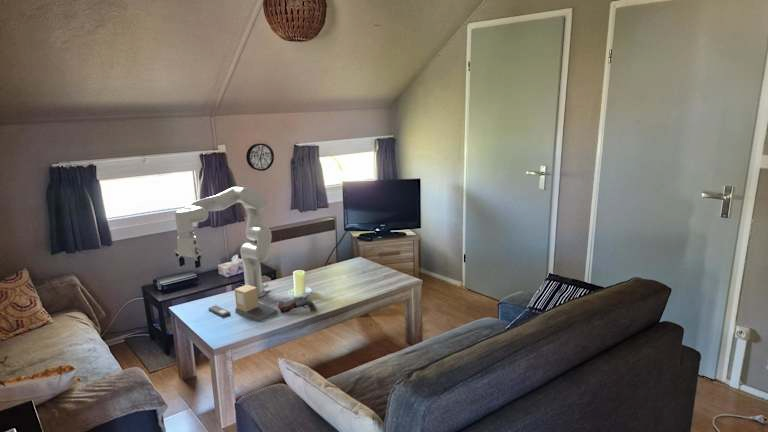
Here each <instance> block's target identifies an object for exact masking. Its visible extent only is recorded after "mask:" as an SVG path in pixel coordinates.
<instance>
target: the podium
mask: <svg viewBox="0 0 768 432" xmlns="http://www.w3.org/2000/svg"><path fill="white" fill-rule="evenodd" d="M235 314H238V315H240V316H244V317H246V318H249V319H252V320H254V321H255V322H259V323H261V322H263V321H266V320H268V319H270V318H272V317H273V316H276V315H278V314H279V309H277V308H274V307H272V306H269V305H266V304H264V303H260V302H258V307H256V308H254V309H252V310H250V311H247V312H245V311H243V310H240V309H237V307H235ZM265 319H266V320H265Z"/></svg>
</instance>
